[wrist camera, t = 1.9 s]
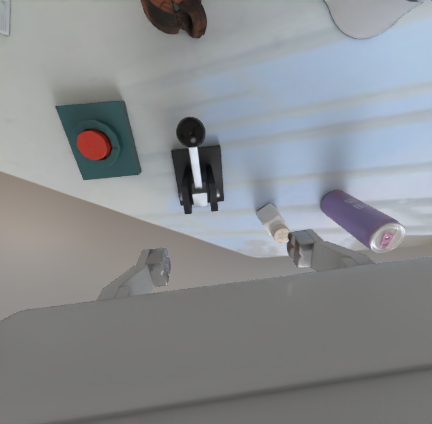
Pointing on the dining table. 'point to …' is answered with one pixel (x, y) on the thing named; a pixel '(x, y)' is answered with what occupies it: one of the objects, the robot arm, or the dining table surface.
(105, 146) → the button
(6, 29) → the syrup box
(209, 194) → the lever stand
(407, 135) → the dining table surface
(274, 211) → the pepper shaker
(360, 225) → the beverage can
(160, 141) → the dining table surface
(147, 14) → the brown clay jug
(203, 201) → the lever handle
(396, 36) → the dining table surface
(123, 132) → the teal base plate
